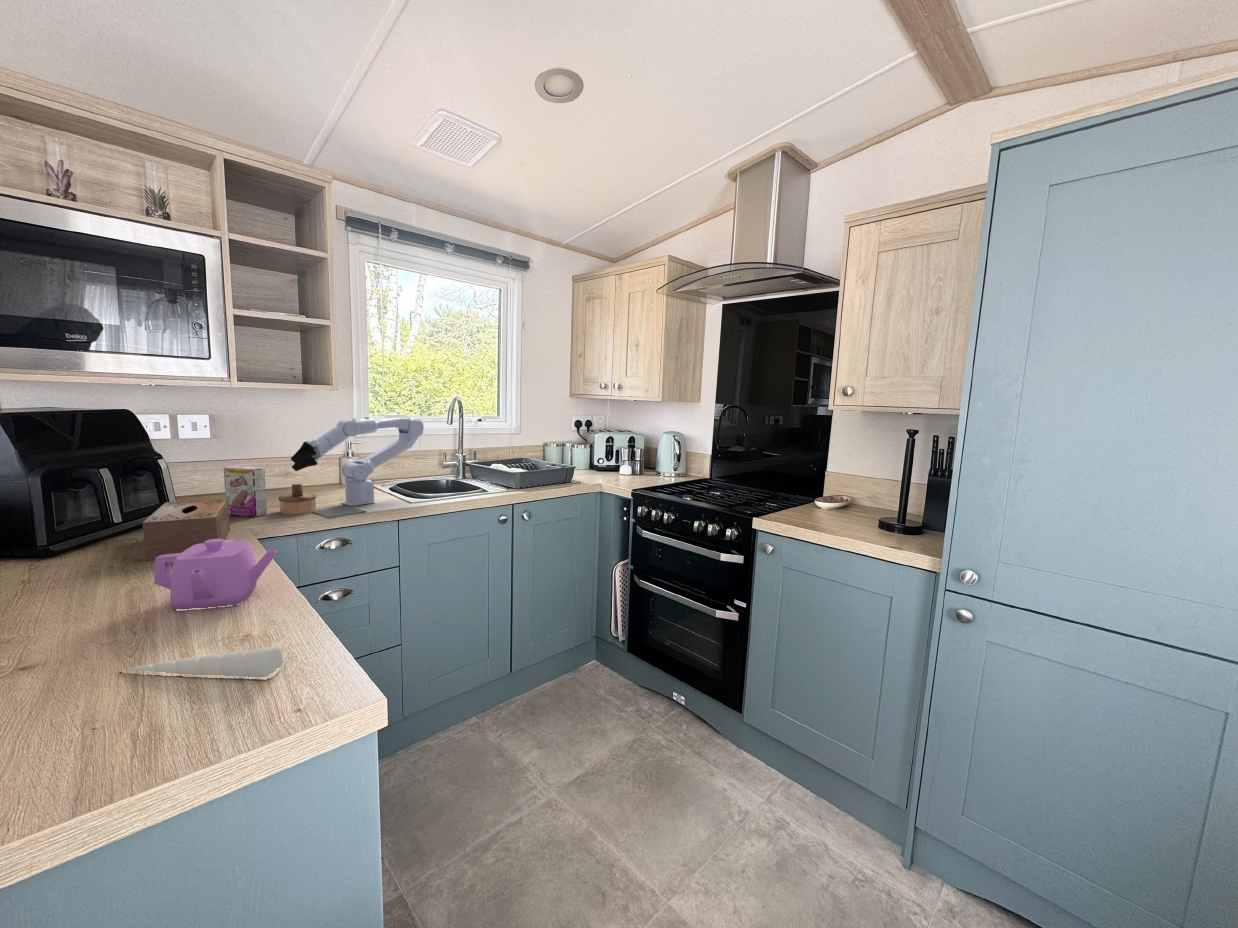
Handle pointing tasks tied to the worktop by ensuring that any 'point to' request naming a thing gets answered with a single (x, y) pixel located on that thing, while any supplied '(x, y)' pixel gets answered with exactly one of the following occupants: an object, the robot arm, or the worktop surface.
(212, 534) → the tissue box cover
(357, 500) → the robot arm
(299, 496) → the lid
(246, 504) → the candy bar box
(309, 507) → the bowl
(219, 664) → the unicorn horn
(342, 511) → the mat
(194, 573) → the teakettle
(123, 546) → the worktop surface
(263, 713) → the worktop surface
